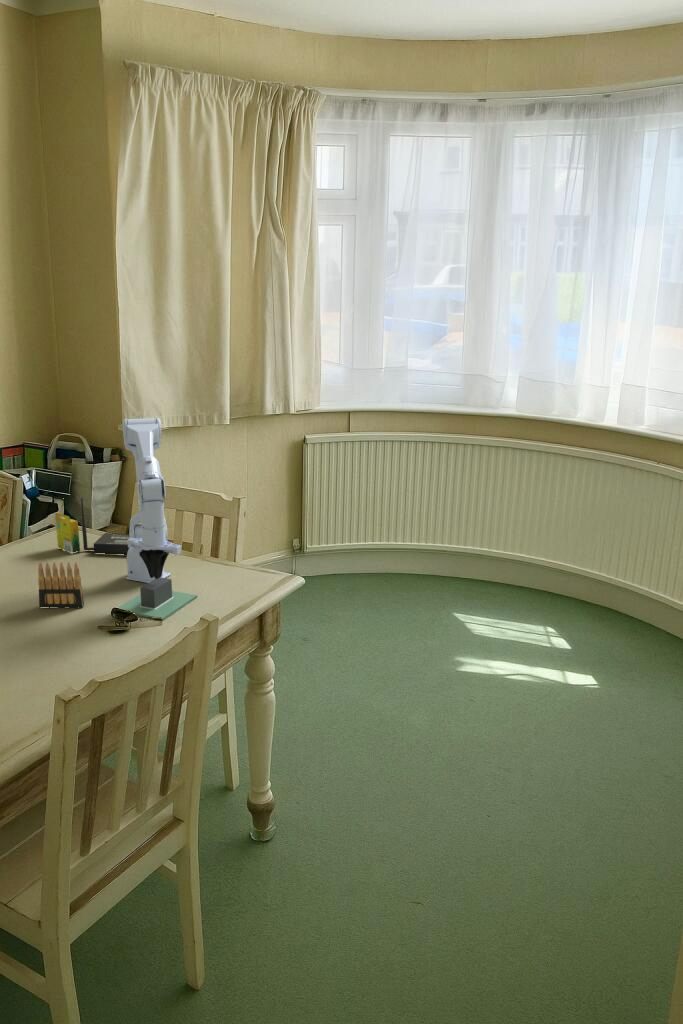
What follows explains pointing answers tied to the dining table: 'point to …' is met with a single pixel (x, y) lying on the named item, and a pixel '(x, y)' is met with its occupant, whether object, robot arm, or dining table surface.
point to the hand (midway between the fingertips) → (155, 577)
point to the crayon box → (67, 533)
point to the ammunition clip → (60, 587)
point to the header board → (162, 610)
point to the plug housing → (156, 592)
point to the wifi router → (106, 541)
